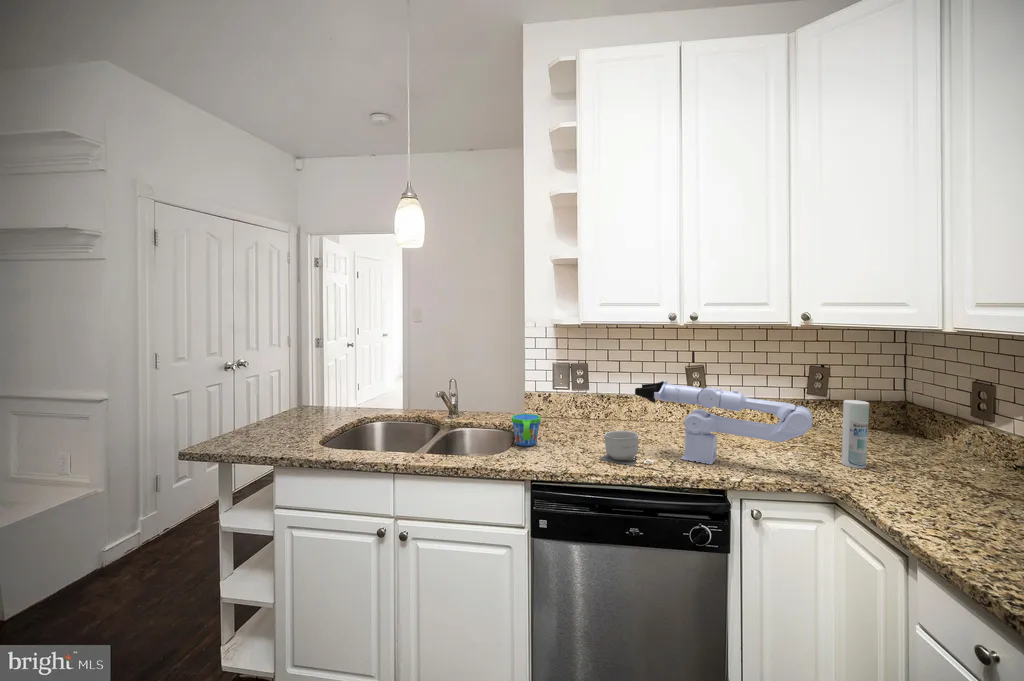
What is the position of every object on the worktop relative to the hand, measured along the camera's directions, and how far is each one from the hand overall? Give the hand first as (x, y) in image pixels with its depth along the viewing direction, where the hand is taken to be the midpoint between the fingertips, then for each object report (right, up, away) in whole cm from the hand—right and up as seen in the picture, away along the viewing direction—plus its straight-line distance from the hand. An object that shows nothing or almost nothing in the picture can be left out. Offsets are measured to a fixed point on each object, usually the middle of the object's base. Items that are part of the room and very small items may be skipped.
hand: (638, 389), depth 163 cm
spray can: (+63, -22, -16) cm, 68 cm away
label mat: (-3, -22, -10) cm, 24 cm away
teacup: (-7, -21, -8) cm, 24 cm away
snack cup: (-39, -21, +8) cm, 45 cm away
